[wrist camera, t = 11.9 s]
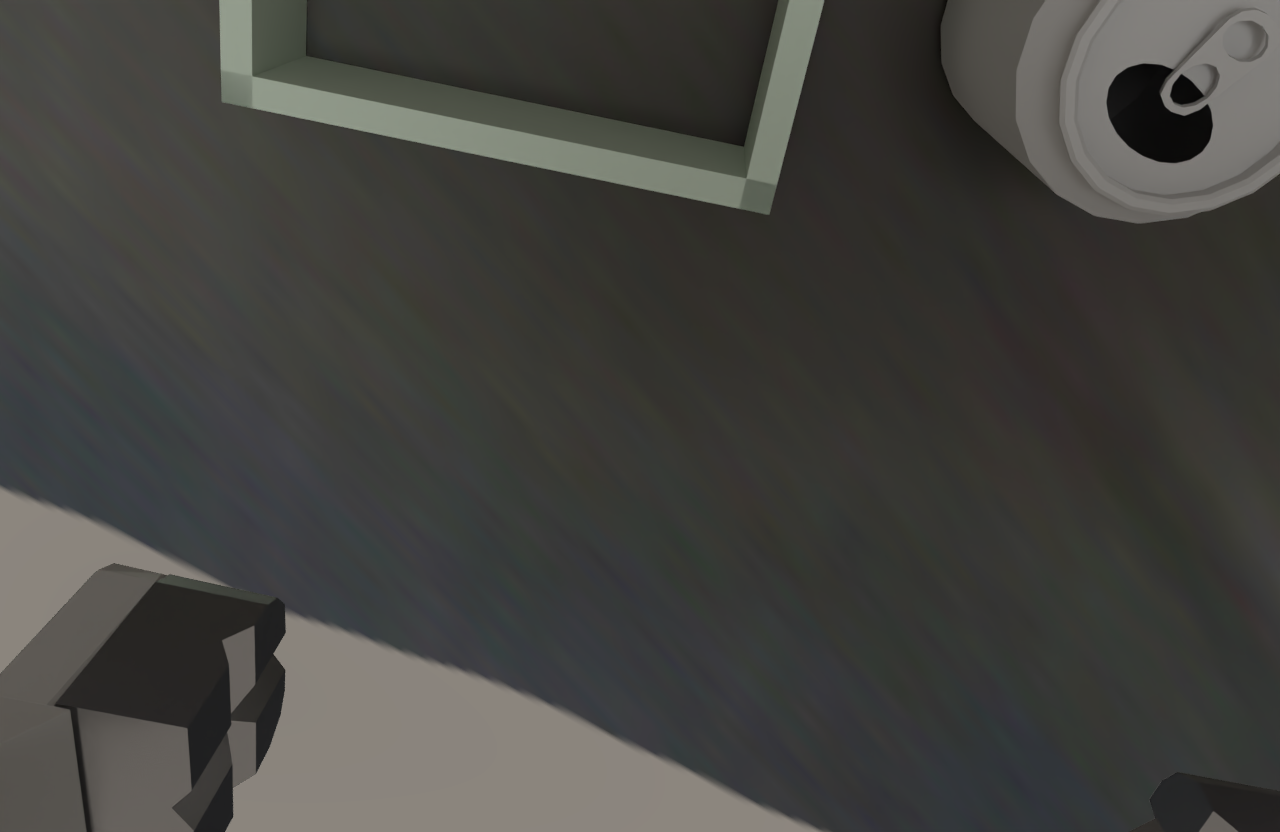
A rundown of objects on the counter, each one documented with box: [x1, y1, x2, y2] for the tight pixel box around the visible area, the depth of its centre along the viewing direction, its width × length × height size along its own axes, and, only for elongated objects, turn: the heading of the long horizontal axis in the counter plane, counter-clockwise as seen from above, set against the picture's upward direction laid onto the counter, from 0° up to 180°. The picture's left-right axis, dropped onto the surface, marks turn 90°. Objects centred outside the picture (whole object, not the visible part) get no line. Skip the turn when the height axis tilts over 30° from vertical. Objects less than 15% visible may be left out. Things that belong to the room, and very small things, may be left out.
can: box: [941, 0, 1280, 224], centre depth 27 cm, size 8×8×12 cm
